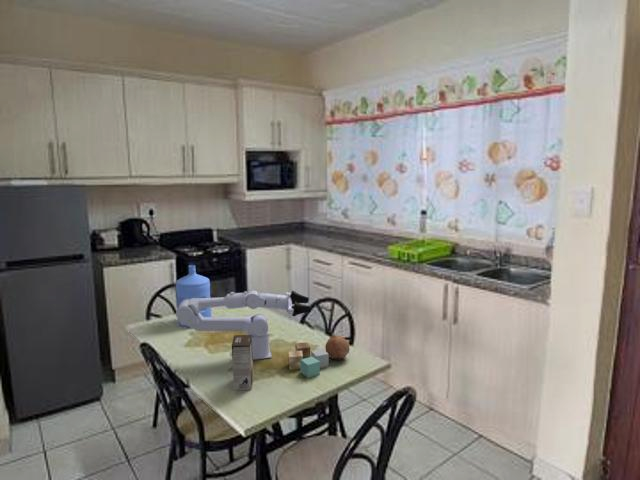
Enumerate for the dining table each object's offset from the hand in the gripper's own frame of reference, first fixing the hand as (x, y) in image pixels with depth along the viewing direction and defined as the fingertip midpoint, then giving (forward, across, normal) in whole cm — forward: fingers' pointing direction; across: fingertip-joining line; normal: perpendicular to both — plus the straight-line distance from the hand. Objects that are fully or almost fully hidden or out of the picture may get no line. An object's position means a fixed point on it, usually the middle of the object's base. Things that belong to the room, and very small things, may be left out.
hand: (309, 304), depth 175 cm
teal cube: (0, -22, +16) cm, 28 cm away
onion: (+12, -12, +16) cm, 24 cm away
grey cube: (+5, -16, +16) cm, 24 cm away
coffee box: (-23, -26, +19) cm, 40 cm away
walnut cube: (0, -9, +19) cm, 21 cm away
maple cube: (-4, -16, +18) cm, 24 cm away
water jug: (-46, +38, +35) cm, 69 cm away
